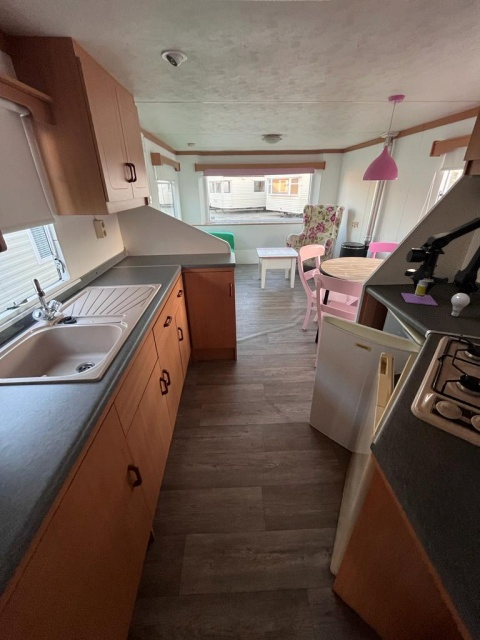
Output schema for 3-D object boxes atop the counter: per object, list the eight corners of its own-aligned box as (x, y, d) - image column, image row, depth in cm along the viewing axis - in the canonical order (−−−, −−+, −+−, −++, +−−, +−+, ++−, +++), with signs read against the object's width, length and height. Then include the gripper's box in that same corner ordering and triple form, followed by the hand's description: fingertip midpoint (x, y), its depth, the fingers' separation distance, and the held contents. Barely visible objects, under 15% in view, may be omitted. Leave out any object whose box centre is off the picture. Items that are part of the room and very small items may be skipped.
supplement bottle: (426, 297, 136) (431, 282, 132) (416, 297, 137) (420, 281, 133) (422, 294, 140) (427, 279, 137) (412, 294, 141) (417, 279, 138)
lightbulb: (455, 313, 124) (464, 290, 119) (466, 319, 118) (476, 296, 113) (442, 313, 124) (450, 291, 119) (452, 319, 118) (461, 296, 113)
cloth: (400, 293, 148) (401, 292, 147) (429, 296, 143) (430, 295, 143) (406, 302, 136) (406, 301, 136) (437, 305, 132) (438, 305, 131)
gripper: (401, 261, 135) (394, 290, 142) (441, 269, 120) (430, 301, 127) (414, 258, 140) (406, 286, 147) (454, 265, 125) (443, 296, 132)
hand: (420, 292), depth 138 cm, fingers closed on supplement bottle, 5 cm apart
